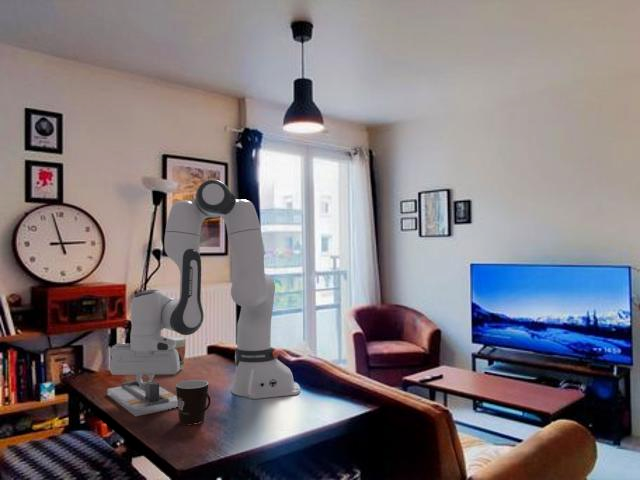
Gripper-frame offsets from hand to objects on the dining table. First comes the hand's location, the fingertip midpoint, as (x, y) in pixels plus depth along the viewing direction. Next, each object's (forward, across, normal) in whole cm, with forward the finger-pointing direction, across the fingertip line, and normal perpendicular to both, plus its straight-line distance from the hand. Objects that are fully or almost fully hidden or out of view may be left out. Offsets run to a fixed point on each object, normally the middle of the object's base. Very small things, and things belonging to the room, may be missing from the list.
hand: (144, 388), depth 150 cm
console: (+4, -1, +1) cm, 4 cm away
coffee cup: (+4, 0, +41) cm, 41 cm away
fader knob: (+2, +3, -4) cm, 6 cm away
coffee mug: (+4, +18, -20) cm, 27 cm away
